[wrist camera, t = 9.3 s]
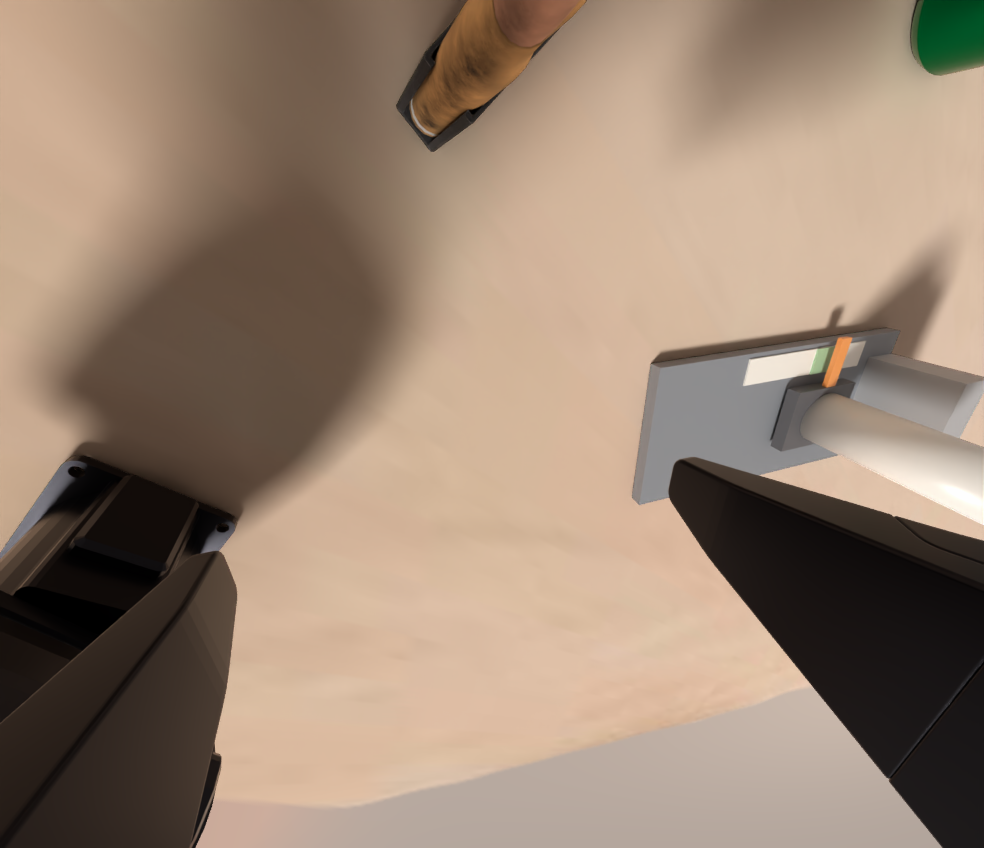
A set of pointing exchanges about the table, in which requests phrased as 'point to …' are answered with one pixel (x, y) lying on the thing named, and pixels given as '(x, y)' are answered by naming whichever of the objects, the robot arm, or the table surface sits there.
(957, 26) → the soda can
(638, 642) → the table surface
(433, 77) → the ammunition clip
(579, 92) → the table surface
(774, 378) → the gauge board
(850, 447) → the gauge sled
